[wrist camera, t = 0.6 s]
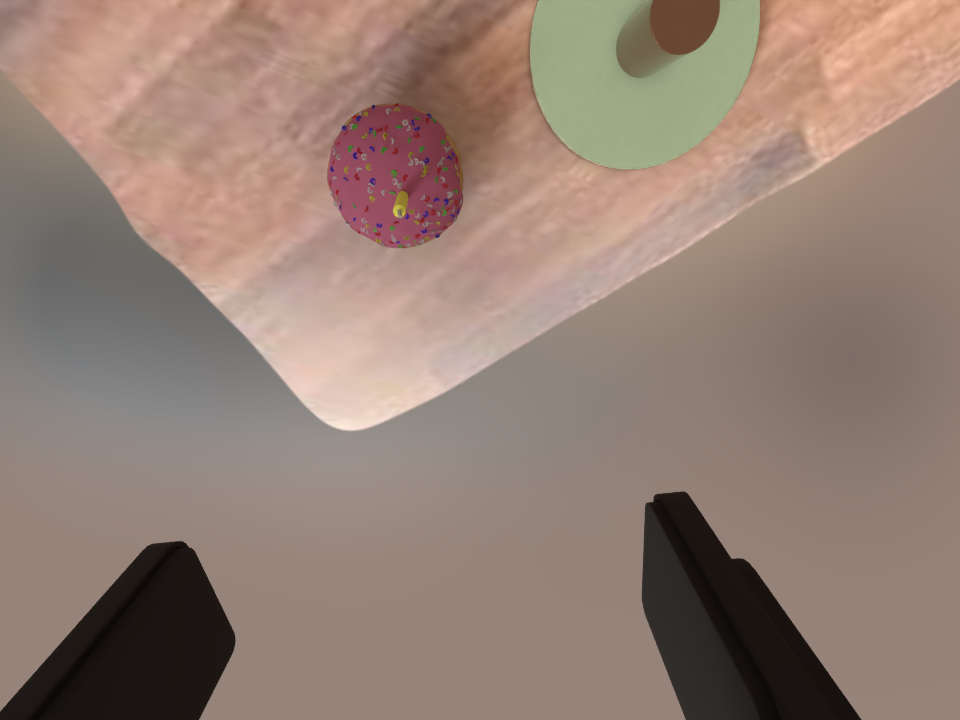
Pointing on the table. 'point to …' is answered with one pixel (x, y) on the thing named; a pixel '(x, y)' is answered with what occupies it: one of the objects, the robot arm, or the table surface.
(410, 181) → the sprinkled cake with candle
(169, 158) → the table surface
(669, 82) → the lid
